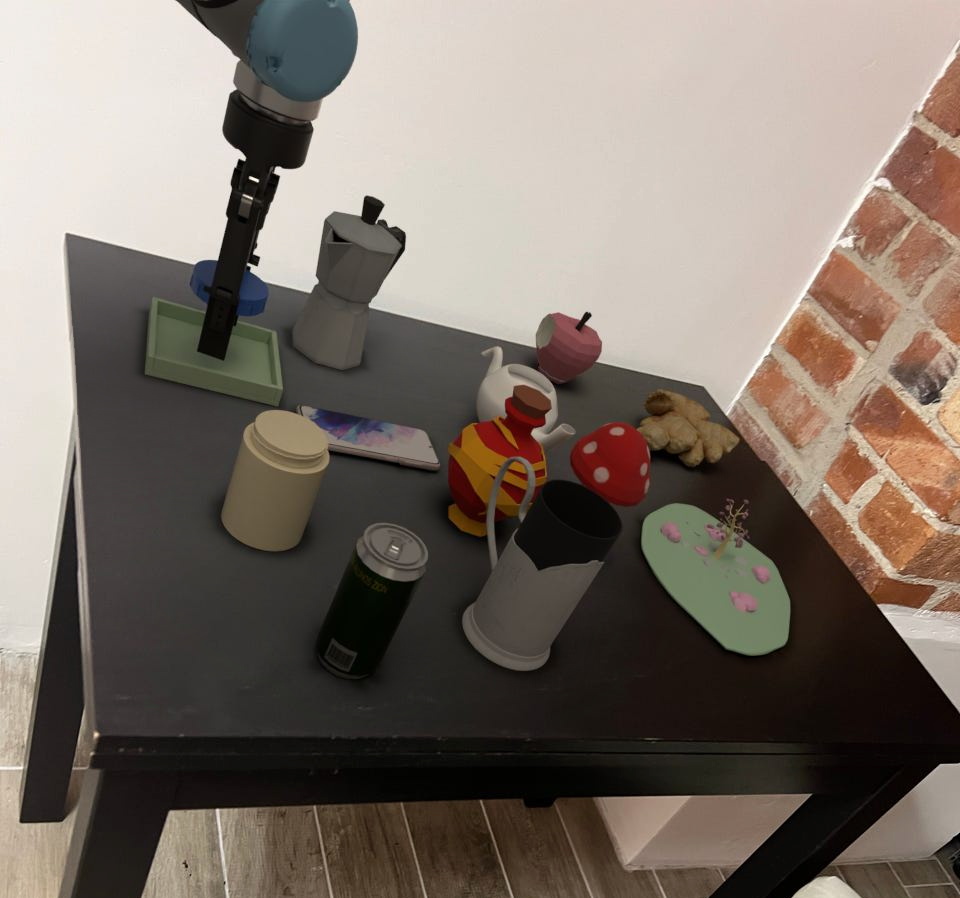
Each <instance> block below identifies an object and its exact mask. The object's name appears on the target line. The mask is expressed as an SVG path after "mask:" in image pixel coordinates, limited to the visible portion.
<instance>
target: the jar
mask: <svg viewBox="0 0 960 898" xmlns="http://www.w3.org/2000/svg"><path fill="white" fill-rule="evenodd" d="M328 445H329V443H328V439H327V437H326V435H325V434H324V432H323V431H322V430H321V428H320V427H318V426H317V425H316V424H315V423H313V422H312V421H310V420H309V419H307V418H305V417H303V416H301V415H298V414H297V413H296V412H292V411H288V410H282V409H269V410H265V411H263V412H260V413H259V414H258V415H257V416H256V418H255V419H254V421H253V422H251V423H249V424H248V425H247V426H246V427H245V428H244V430H243V434H242V437H241V441H240V444H239V448H238V451H237V455H236V459H235V463H234V465H233V469H232V471H231V475H230V476H231V477H230V480H229V484H228V487H227V490H226V495H225V497H224V501H223V504H222V509H221V511H220V518H221V522H222V524H223V527H224V528H225V530H226V531H227V532H228V533H229V534H230V535H231V536H232V537H233V538H235V539H236V540H237V541H239V542H241V543H242V544H243V545H246V546H248V547H251V548H254V549H257V550H260V551H264V552H283V551H288V550H291V549H293V548H294V547H296V546H297V545H298V544H300V542H301V541H302V539H303V536H304V533H305V530H306V528H307V525H308V522H309V519H310V516H311V514H312V512H313V511H312V510H313V508H314V506H315V502H316V500H317V497H318V494H319V491H320V489H321V486H322V483H323V480H324V477H325V474H326V472H327V469H328V466H329V463H330V460H331V459H330V453H329V450H327V448H328Z"/></svg>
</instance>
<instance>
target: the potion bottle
mask: <svg viewBox="0 0 960 898" xmlns="http://www.w3.org/2000/svg"><path fill="white" fill-rule="evenodd" d="M551 409H552V406H551V400H550V399H548V398H547V397H546V396H545V395H544V394H543V393H541V392H540V391H539V390H537V389H534V388H532V387H529V386H526V385H517V386H514V388H513V396H512V397H509V398H507V399H505V413H506V414H507V416H506V418H503V417H501V416H498V417H495V418H493V420H491V421H486V422H480V423H479V422H473V423H470V424H468V425H467V426H466V427H464V428H463V429H462V431H461V432H460V434H459V435H458V437H457V438H456V439H455V440H454V442H449V444H448V447H447V452H448V453H449V457H448V461H447V463H448V464H447V483H448V488H449V492H450V496H451V498H452V499H453V501H454V503H453V504H451V505H449V506H448V519H449V520H450V521H451V522H452V523H453V524H454V525H455V526H456V527H457V528H458V529H459V530H460V531H462V532H464V533H467V534H471V535H474V536H476V537H479V538H481V537H485V536H487V524H486V520H487V510H488V503H489V497H490V493H491V490H492V486H493V483H494V480H495V478H496V476H497V474H498V471H499V469H500V468H501V466H502V465H503V463H504V462H505V461H506V460H507V459H509V458H510V457H522V458H524V459H526V460H527V461H528V462H529V463H530V464H531V465H532V467H533V469H534V473H535V490H534V494H533V496H532V499H531V501H530V503H529V505H528V507H527V509H526V514H527V512H528V510H529V508H530V506H531V505H532V503H533V501H534V499H535V497H536V496H537V494H538V492H539V490H540V488H541V486H542V485H543V484H544V483H545V482H547V477H548V473H547V463H546V462H547V461H546V454H545V455H544V452H543V447H542V445H541V444H540V443H539V442H538V441H537V440H536V439H534V437H533V436H532V435H531V433H532V431H533V429H535V428H540V427H543V426H544V425H545V424H546V418H545V414H547V413H548V412H549V411H550V410H551ZM541 451H542V452H541ZM527 486H528V477H527V472H526V469H525V467H524V465H523V464H522V463H521V462H519V461H517V460H516V461H514V462H513V463H512V464H511V465H510V466H509V468H508V469H507V471H506V473H505V475H504V478H503V480H502V482H501V485H500V488H499V492H498V495H497V500H496V506H495V515H494V523H495V522H498V521H503V520H504V519H508V518H512V517H516V516H517V517H518V512H519V508H520V505H521V503H522V501H523V499H524V497H525V494H526V490H527Z"/></svg>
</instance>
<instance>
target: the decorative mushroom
mask: <svg viewBox="0 0 960 898" xmlns="http://www.w3.org/2000/svg"><path fill="white" fill-rule="evenodd" d="M569 454H570V455H569V464H570V467H571V469H572V471H573V474H574V475H575V476H576V478H577V479H578V481H579V482H580V485H583V486H585V487H587V488H589V489H591V490H592V491H594V492H596V493H597V494H599V495H600V496H601V497H603V498H604V499H605V500H606V501H607V502H609V503H610V504H611V505H612V504H613V505H615V506H620V507H623V508H630V507H636V506H638V505H639V504H640V503H642V501H643V500H644V499H646V496H647V494H648V491H649V487H650V485H651V474H650V473H651V472H650V468H651V451H650V450H649V448H648V445H647V442H646V441H645V439H644V437H643V435H642V434H641V433H640V432H639V431H638V430H637V428H635V426H633V425H630V424H629V423H625V422H619V421H618V422H609V423H606V424H603V425H602V426H600V427H598V428H597V429H596V430H594V431H592V432H590V433H589V434H586V435H584V436H582V437H580V438H579V439H578V441H576V443H574V444H573V447H572V448H571V450H570V453H569Z"/></svg>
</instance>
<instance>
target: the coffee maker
mask: <svg viewBox="0 0 960 898" xmlns="http://www.w3.org/2000/svg"><path fill="white" fill-rule="evenodd" d="M385 206H386V204H385V203H384V202H383V201H382V200H380V199H379V198H376V197H374V196H372V195H368V194H366V195H365V196H364V197H363V201H362V209H361V215H358V214H352V213H347V212H342V211H335V210H334V211H332V212H331V213H330V214H329V215H328V216H327V217H325V218H324V220H323V227H322V232H321V238H320V245H319V252H318V257H317V265H316V270H315V277H316V279H317V280H318V282H317V283H316V284H314V286H313V288H312V289H311V292H310V294H309V296H308V298H307V300H306V301H305V303H304V306H303V308H302V310H301V311H300V314H299V316H298V317H297V320H296V322H295V324H294V326H293V328H292V330H291V343H292V348H293V349H295V350H297V351H298V352H300V353H301V354H302V355H303V356H305V357H306V358H307V359H309V360H310V361H311V362H313V364H318V365H322V366H325V367H328V368H331V369H336V370H340V371H345V370H349V369H352V368H356V367H360V366H361V361H362V356H363V352H364V351H363V350H364V345H365V339H366V334H367V327H368V322H369V317H370V312H371V311H370V304H371V303H372V301H373V300H374V298H375V297H376V296H377V295H378V293H379V291H380V289H381V288H382V286H383V283H384V282H385V280H386V279H387V277H388V276H389V274H390V273H391V271H392V270H393V268H394V267H395V266H396V264H397V263H398V261H399V260H400V258H401V256H402V255H403V254H404V252H405V251H406V242H407V233H406V231H404V230H402V229H401V228H400V227H398V226H397V225H394V226H389V225H388V222H387V220H385V219H384V218H382V219H379V217H380V215H381V213H382V212H383V210H384V208H385Z"/></svg>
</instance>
